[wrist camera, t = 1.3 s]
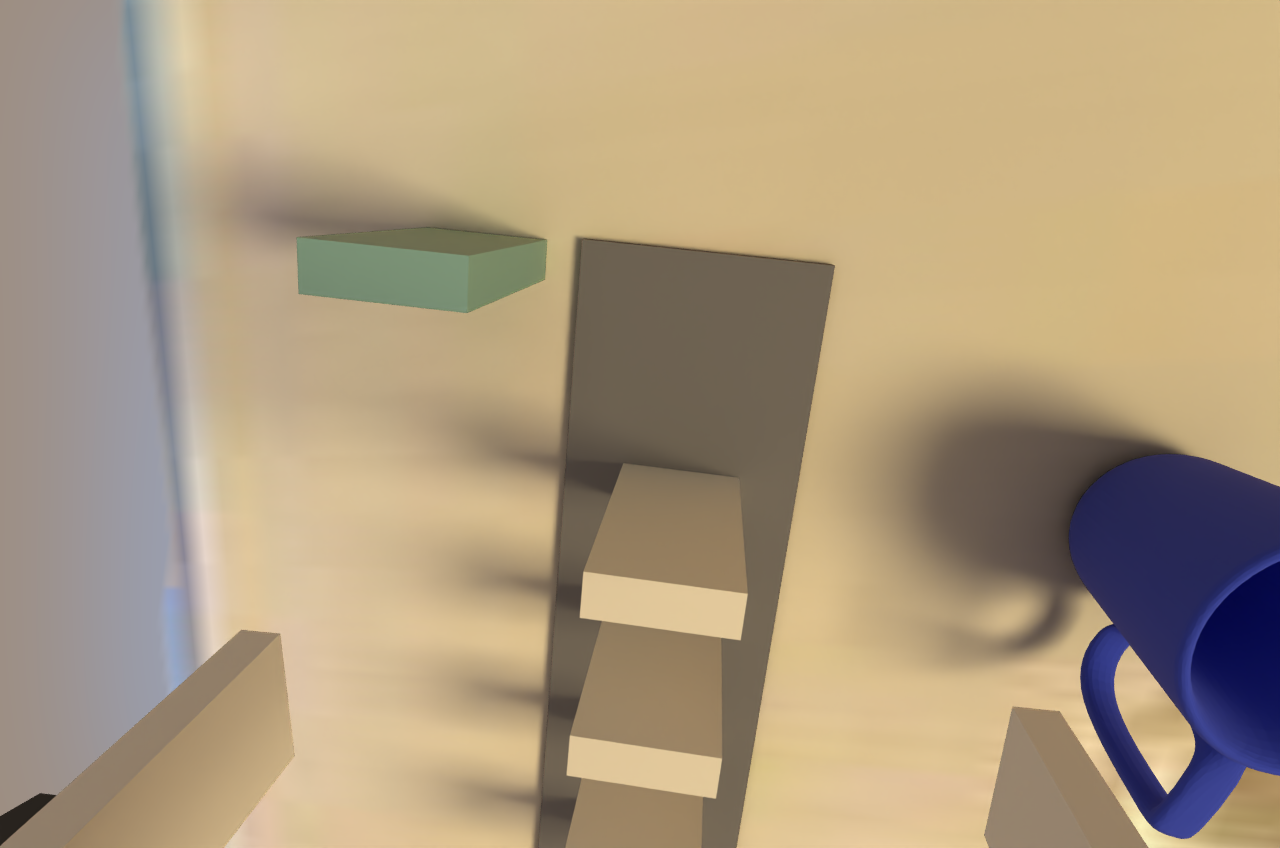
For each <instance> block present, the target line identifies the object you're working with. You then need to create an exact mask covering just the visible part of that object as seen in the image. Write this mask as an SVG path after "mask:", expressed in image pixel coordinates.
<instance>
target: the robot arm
mask: <svg viewBox="0 0 1280 848" xmlns="http://www.w3.org/2000/svg"><path fill="white" fill-rule="evenodd" d="M294 756H295V755H294V746H293V738H292V729H291V721H290V713H289V704H288V696H287V687H286V679H285V670H284V662H283V653H282V645H281V636H280V634H277V633H267V632H257V631H247V630H241V631H240V632H238V633H237V634H236V635H235V636H234V637H233V638H232V639H231V640H230V641H228V642H227V643H226V644H225V645H224V646H223V647H222V648H221V649H220V650H218V651H217V652H216V653H215V654H214V655H213V656H212V657H211V658H209V659H208V660H207V661H206V662H205V663H204V664H203V665H202V666H201V667H199V668H198V669H197V670H196V671H195V672H194V673H193V674H192V675H190V676H189V677H188V678H187V679H186V680H185V681H184V682H183V683H182V684H180V685H179V686H178V687H177V688H176V689H175V690H174V691H173V692H171V693H170V694H169V695H168V696H167V697H166V698H165V699H164V700H163V701H162V702H160V703H159V704H158V705H157V706H156V707H155V708H154V709H153V710H151V711H150V712H149V713H148V714H147V715H146V716H145V717H144V718H142V719H141V720H140V721H139V722H138V723H137V724H136V725H135V726H134V727H132V728H131V729H130V730H129V731H128V732H127V733H126V734H125V735H123V736H122V737H121V738H120V739H119V740H118V741H117V742H116V743H115V744H113V745H112V746H111V747H110V748H109V749H108V750H107V751H106V752H105V753H103V754H102V755H101V756H100V757H99V758H98V759H97V760H96V761H95V762H93V763H92V764H91V765H90V766H89V767H88V768H87V769H86V770H84V771H83V772H82V773H81V774H80V775H79V776H78V777H77V778H75V779H74V780H73V781H72V782H71V783H70V784H69V785H68V786H67V787H65V788H64V789H63V790H62V791H61V792H60V793H59V794H58V795H50V794H42V793H40V794H38V795H36V796H35V797H33V798H31V799H29V800H28V801H26V802H24V803H22V804H21V805H19V806H17V807H15V808H14V809H12V810H10V811H9V812H7V813H5V814H3V815H2V816H0V848H224V847H225V846H226V844H227V843H228V842H229V840H230V839H231V838H232V836H233V835H234V834H235V833H236V831H237V830H238V829H239V827H240V826H241V825H242V823H243V822H244V821H245V820H246V818H247V817H248V816H249V814H250V813H251V812H252V810H253V809H254V808H255V807H256V805H257V804H258V803H259V801H260V800H261V799H262V797H263V796H264V795H265V794H266V792H267V791H268V790H269V788H270V787H271V786H272V784H273V783H274V782H275V781H276V779H277V778H278V777H279V775H280V774H281V773H282V772H283V770H284V769H285V768H286V766H287V765H288V764H289V762H290V761H291V760H292V759H293V757H294ZM984 836H985V838H986V841H987V843H988V846H989V848H1148V846H1147V845H1146V843H1145V842H1144V840H1143V839H1142V837H1141V836H1140V834H1139V833H1138V831H1137V830H1136V828H1135V826H1134V825H1133V823H1132V822H1131V820H1130V819H1129V817H1128V816H1127V814H1126V813H1125V811H1124V810H1123V808H1122V806H1121V805H1120V803H1119V802H1118V800H1117V799H1116V797H1115V796H1114V794H1113V793H1112V791H1111V790H1110V788H1109V787H1108V785H1107V783H1106V782H1105V780H1104V779H1103V777H1102V776H1101V774H1100V773H1099V771H1098V770H1097V768H1096V767H1095V765H1094V763H1093V762H1092V760H1091V759H1090V757H1089V756H1088V754H1087V753H1086V751H1085V750H1084V748H1083V747H1082V745H1081V744H1080V742H1079V740H1078V739H1077V737H1076V736H1075V734H1074V733H1073V731H1072V730H1071V728H1070V727H1069V725H1068V724H1067V722H1066V720H1065V719H1064V717H1063V716H1062V714H1061V713H1060V711H1051V710H1041V709H1031V708H1021V707H1012V711H1011V716H1010V720H1009V725H1008V730H1007V734H1006V739H1005V743H1004V748H1003V752H1002V757H1001V761H1000V766H999V770H998V775H997V779H996V784H995V789H994V793H993V798H992V802H991V807H990V811H989V816H988V820H987V825H986V829H985V834H984Z"/></svg>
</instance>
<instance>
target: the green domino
mask: <svg viewBox="0 0 1280 848" xmlns="http://www.w3.org/2000/svg"><path fill="white" fill-rule="evenodd" d="M546 251H547V240H544V239H534V238H525V237H515V236H506V235H496V234H487V233H477V232H468V231H459V230H449V229H440V228H430V227H424V228H411V229H398V230H385V231H372V232H359V233H346V234H333V235H320V236H307V237H297V261H298V289H299V294H304V295H312V296H321V297H330V298H339V299H348V300H357V301H365V302H374V303H383V304H392V305H401V306H409V307H418V308H427V309H436V310H445V311H454V312H462V313H468V312H471V311H473V310H475V309H478V308H480V307H482V306H485V305H487V304H489V303H492V302H494V301H496V300H499V299H501V298H503V297H506V296H508V295H510V294H512V293H515V292H517V291H519V290H522V289H524V288H526V287H529V286H531V285H533V284H536V283H538V282H540V281H543V280H545V268H546Z"/></svg>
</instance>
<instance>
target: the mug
mask: <svg viewBox="0 0 1280 848" xmlns="http://www.w3.org/2000/svg"><path fill="white" fill-rule="evenodd" d="M1069 549H1070V554H1071V558H1072V561H1073V564H1074V566H1075V569H1076V571H1077V573H1078V575H1079V577H1080V579H1081V580H1082V582H1083V583H1084V585H1085V586H1086V588H1087V589H1088V590H1089V592H1090V593H1091V594H1092V596H1093V597H1094V598H1095V600H1096V601H1097V602H1098V604H1099V605H1100V606H1101V608H1102V609H1103V610H1104V612H1105V613H1106V614H1107V616H1108V617H1109V618H1110V620H1111V621H1112V622H1113V624H1112V625H1109V626H1106V627H1105V628H1103V629H1102V630H1101V631H1099V632H1098V634H1097V635H1096V636H1095V637H1094V638H1093V640H1092V641H1091V642H1090V644H1089V646H1088V648H1087V650H1086V652H1085V655H1084V657H1083V661H1082V666H1081V676H1080V679H1081V690H1082V695H1083V699H1084V703H1085V706H1086V709H1087V712H1088V714H1089V717H1090V719H1091V722H1092V724H1093V726H1094V728H1095V731H1096V733H1097V735H1098V737H1099V739H1100V741H1101V743H1102V745H1103V747H1104V749H1105V751H1106V753H1107V754H1108V756H1109V758H1110V760H1111V762H1112V764H1113V765H1114V767H1115V769H1116V771H1117V773H1118V774H1119V776H1120V778H1121V779H1122V781H1123V783H1124V785H1125V786H1126V788H1127V790H1128V791H1129V793H1130V795H1131V797H1132V798H1133V800H1134V802H1135V803H1136V805H1137V807H1138V809H1139V810H1140V812H1141V813H1142V815H1143V816H1144V818H1145V819H1146V820H1147V822H1148V823H1149V824H1150V825H1151V826H1152V827H1153V828H1155V829H1156V830H1158V831H1159V832H1161V833H1164V834H1166V835H1169V836H1173V837H1176V838H1180V839H1186V838H1190V837H1192V836H1193V835H1195V834H1196V833H1197V832H1199V831H1200V830H1201V829H1202V828H1203V827H1204V825H1205V824H1206V823H1207V822H1208V821H1209V820H1210V819H1211V818H1212V816H1213V815H1214V814H1215V813H1216V812H1217V811H1218V810H1219V808H1220V807H1221V806H1222V804H1223V803H1224V802H1225V800H1226V799H1227V797H1228V796H1229V795H1230V793H1231V792H1232V791H1233V789H1234V788H1235V787H1236V785H1237V784H1238V782H1239V780H1240V778H1241V776H1242V774H1243V772H1244V770H1245V768H1246V767H1248V768H1251V769H1254V770H1257V771H1261V772H1265V773H1269V774H1273V775H1279V776H1280V487H1279V486H1276V485H1273V484H1271V483H1268V482H1266V481H1263V480H1261V479H1258V478H1255V477H1253V476H1250V475H1248V474H1245V473H1242V472H1240V471H1237V470H1235V469H1232V468H1229V467H1227V466H1224V465H1222V464H1219V463H1217V462H1214V461H1211V460H1207V459H1204V458H1199V457H1194V456H1188V455H1179V454H1161V455H1152V456H1145V457H1141V458H1138V459H1134V460H1131V461H1128V462H1126V463H1124V464H1121V465H1119V466H1117V467H1115V468H1113V469H1112V470H1110V471H1108V472H1107V473H1105V474H1104V475H1103V476H1101V477H1100V478H1099V479H1098V480H1097V481H1096V482H1095V483H1093V484H1092V485H1091V486H1090V487H1089V489H1088V490H1087V491H1086V492H1085V493H1084V495H1083V496H1082V498H1081V499H1080V501H1079V502H1078V504H1077V506H1076V508H1075V511H1074V513H1073V516H1072V519H1071V523H1070V529H1069ZM1129 645H1130V646H1131V647H1132V649H1133V650H1134V651H1135V653H1136V654H1137V655H1138V657H1139V658H1140V659H1141V661H1142V662H1143V663H1144V665H1145V666H1146V667H1147V669H1148V670H1149V671H1150V672H1151V674H1152V675H1153V676H1154V678H1155V679H1156V680H1157V682H1158V683H1159V684H1160V686H1161V687H1162V688H1163V690H1164V691H1165V692H1166V694H1167V695H1168V696H1169V698H1170V699H1171V700H1172V702H1173V703H1174V704H1175V706H1176V707H1177V708H1178V709H1179V711H1180V712H1181V713H1182V715H1183V716H1184V717H1185V719H1186V720H1187V721H1188V723H1189V724H1190V726H1191V728H1192V731H1193V734H1194V738H1195V752H1194V755H1193V758H1192V760H1191V762H1190V764H1189V766H1188V767H1187V769H1186V770H1185V772H1184V773H1183V775H1182V776H1181V778H1180V779H1179V781H1178V782H1177V784H1176V785H1175V787H1174V788H1173V789H1172V790H1171V791H1170V792H1169V794H1168V795H1167V793H1166V792H1165V790H1164V789H1163V787H1162V786H1161V784H1160V783H1159V781H1158V780H1157V778H1156V777H1155V775H1154V774H1153V772H1152V771H1151V769H1150V767H1149V766H1148V764H1147V762H1146V761H1145V759H1144V758H1143V756H1142V754H1141V753H1140V751H1139V750H1138V748H1137V746H1136V744H1135V742H1134V741H1133V739H1132V737H1131V735H1130V733H1129V732H1128V729H1127V727H1126V725H1125V723H1124V721H1123V719H1122V716H1121V714H1120V711H1119V709H1118V705H1117V702H1116V698H1115V691H1114V676H1115V671H1116V667H1117V664H1118V662H1119V660H1120V658H1121V656H1122V654H1123V653H1124V651H1125V650H1126V649H1127V648H1128V646H1129Z"/></svg>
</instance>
